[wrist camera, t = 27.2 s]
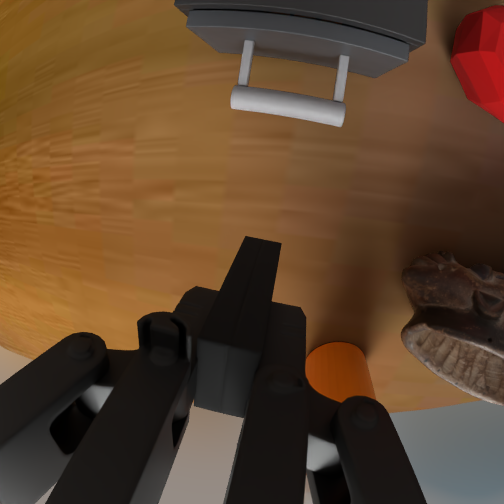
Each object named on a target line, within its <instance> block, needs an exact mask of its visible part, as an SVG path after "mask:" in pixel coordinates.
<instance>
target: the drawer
mask: <svg viewBox="0 0 504 504" xmlns="http://www.w3.org/2000/svg"><path fill="white" fill-rule="evenodd" d="M186 27H187V28H188V29H190V30H191V31H192V32H194V33H195V34H196V35H198V36H199V37H200V38H201V39H203V40H204V41H205V42H206V43H208V44H209V45H210V46H211V47H213V48H214V49H215V50H216V51H218V52H219V53H234V54H242V60H241V66H240V72H239V79H238V85H239V86H238V85H235V86H234V87H233V90H232V94H231V108H232V109H238V110H246V111H254V112H261V113H268V114H275V115H281V116H287V117H293V118H298V119H304V120H309V121H314V122H319V123H324V124H329V125H333V126H338V127H341V126H342V124H343V121H344V117H345V110H346V105H345V103H342V102H343V97H344V91H345V84H346V78H347V71H349V72H353V73H357V74H361V75H365V76H369V77H372V78H377V77H379V76H381V75H383V74H384V73H386V72H388V71H390V70H392V69H394V68H396V67H398V66H400V65H402V64H404V63H406V62H408V58H409V48H410V45H409V44H408V43H405V42H402V41H399V40H396V39H393V38H390V37H386V36H383V34H381V33H378V32H374V31H371V30H367V29H363V28H359V27H356V26H351V25H347V24H343V25H341V24H337V23H332V22H327V21H322V20H316V19H311V18H305V17H298V16H291V15H283V14H275V13H265V12H262V11H258V10H243V9H221V10H190V11H189V14H188V19H187V24H186ZM253 55H256V56H265V57H273V58H281V59H287V60H294V61H300V62H306V63H311V64H317V65H322V66H327V67H331V68H336V69H337V75H336V81H335V88H334V94H333V101H332V100H327V99H323V98H318V97H313V96H307V95H302V94H296V93H290V92H284V91H278V90H271V89H264V88H256V87H248V84H249V77H250V71H251V65H252V58H253Z"/></svg>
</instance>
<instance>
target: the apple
mask: <svg viewBox="0 0 504 504" xmlns="http://www.w3.org/2000/svg"><path fill="white" fill-rule="evenodd" d="M450 62H451V64H452V66H453V68H454V70H455V72H456V74H457V76H458V79H459V81H460V83H461V85H462V87H463V90H464V92H465V94H466V97H467V99H468V100H470V101H472V102H473V103H475V104H476V105H478V106H479V107H481V108H482V109H484V110H485V111H487V112H488V113H490V114H491V115H493V116H494V117H496V118H497V119H498V120H500V121H501V122H503V123H504V6H500V5H494V6H491V7H488V8H485V9H482V10H479V11H476V12H473V13H470V14H468V15H466V16H465V17H464V19H463V20H462V22H461V23H460V25H459V26H458V28H457V29H456V33H455V39H454V44H453V50H452V55H451V60H450Z"/></svg>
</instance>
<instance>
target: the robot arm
mask: <svg viewBox="0 0 504 504" xmlns="http://www.w3.org/2000/svg"><path fill="white" fill-rule="evenodd" d="M281 244H282V243H278V242H273V241H268V240H263V239H258V238H253V237H248V236H245V238H244V240H243V242H242V245H241V247H240V249H239V251H238V253H237V255H236V257H235V259H234V261H233V263H232V265H231V268H230V270H229V272H228V274H227V276H226V278H225V280H224V282H223V284H222V287H221V289H220V291H216V290H211V289H207V288H203V287H198V286H195V287H194V288H192V289H190V290H189V291H187V292H185V294H184V295H183V297H182V299H181V300H180V303H178V305H177V306H176V308H175V311H173V313H170V312H153V313H150V314H148V315H145V316H143V317H142V318H141V319H140V320H138V321H137V326H138V338H139V349H138V350H113V349H107V347H106V344H105V341H104V340H103V339H101V338H100V337H99V336H98V335H95V334H93V333H88V332H79V333H74V334H71V335H69V336H67V337H65V338H64V339H62V340H61V341H60V342H58V343H57V344H55V345H54V346H53V347H51V348H50V349H48V350H47V351H46V352H44V353H43V354H41V355H40V356H39V357H37V358H36V359H35V360H33V361H32V362H30V363H29V364H28V365H26V366H25V367H24V368H22V369H21V370H19V371H18V372H17V373H15V374H14V375H13V376H11V377H10V378H9V379H7V380H6V381H5V382H3V383H2V384H1V385H0V504H35V503H36V502H37V501H38V500H39V499H40V498H41V497H42V496H43V495H44V494H45V493H46V492H47V491H48V490H49V489H50V488H51V487H52V486H53V485H54V484H55V483H56V482H57V481H58V482H57V484H56V485H55V487H54V489H53V491H52V492H51V494H50V496H49V498H48V500H47V501H46V503H45V504H158V503H159V500H160V498H161V495H162V492H163V489H164V487H165V484H166V481H167V479H168V476H169V473H170V470H171V468H172V465H173V463H174V460H175V457H176V454H177V452H178V449H179V446H180V444H181V441H182V438H183V435H184V433H185V430H186V427H187V425H188V422H189V413H190V408H191V405H192V402H193V400H194V406H196V407H200V408H204V409H207V410H211V411H215V412H220V413H223V414H228V415H232V416H237V417H241V418H244V420H243V425H242V429H241V432H240V436H239V440H238V443H237V449H236V454H235V458H234V462H233V466H232V470H231V474H230V478H229V482H228V486H227V490H226V494H225V498H224V503H223V504H304V494H305V482H306V474H307V479H308V484H309V488H310V493H311V497H312V502H313V504H427V503H426V500H425V498H424V495H423V492H422V490H421V488H420V485H419V483H418V480H417V478H416V475H415V473H414V470H413V468H412V466H411V463H410V461H409V459H408V456H407V454H406V452H405V449H404V447H403V445H402V443H401V440H400V438H399V436H398V433H397V431H396V429H395V427H394V424H393V422H392V420H391V418H390V416H389V413H388V412H387V410H386V409H385V408H384V406H383V405H382V404H380V403H379V402H378V401H376V400H375V399H372V398H370V397H367V396H357V395H356V396H352V397H349V398H347V399H346V400H344V401H343V402H342V403H341V402H338V401H335V400H333V399H331V398H328V397H326V396H324V395H322V394H320V393H319V392H317V391H316V390H315V389H314V388H313V387H312V386H311V385H310V384H309V381H308V379H307V377H306V373H305V362H306V316H305V314H304V313H303V311H302V309H301V308H300V307H297V306H291V305H286V304H282V303H277V302H272V295H273V290H274V284H275V278H276V273H277V267H278V261H279V255H280V250H281Z"/></svg>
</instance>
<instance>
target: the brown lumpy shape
mask: <svg viewBox="0 0 504 504" xmlns="http://www.w3.org/2000/svg"><path fill="white" fill-rule="evenodd" d="M402 282H403V285H404V288H405V290H406V293H407V296H408V298H409V301H410V303H411V305H412V308H413V310H414V312H415V314H414V315H413V317H412V318H411V320H410V321H409V322H408V323H407V324H406V325H405V326H404V328H403V329H402V331H401V338H402V341H403V343H404V346H405V347H406V348H407V349H408V350H409V352H411V353H412V354H413V355H414V356H415V357H416V358H417V359H418V360H419V361H420V362H421V363H423V364H424V365H425V366H426V367H427V368H428V369H430V370H431V371H432V372H433V373H435V374H436V375H438V376H439V377H441V378H442V379H444V380H446V381H448V382H449V383H451V384H453V385H454V386H456V387H458V388H459V389H461V390H463V391H465V392H467V393H468V394H470V395H473V396H475V397H477V398H480V399H482V400H484V401H488V402H491V403H494V404H498V405H503V406H504V274H503V273H501V272H497V271H493V270H492V268H491V267H490V266H488V265H484V264H475V265H473V266H472V267H470V268H469V269H468V268H467V269H466V268H465V267H463V266H461V265H459V264H458V263H457V262H456V261H455V257H454V255H453V254H452V252H446V253H445V252H443V251H439V252H438V253H430V254H427V255H426V256H419V257H416V258H415V259H413V261H412V263H411V266H410V267H407V268H405V269H404V270H403V272H402Z"/></svg>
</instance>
